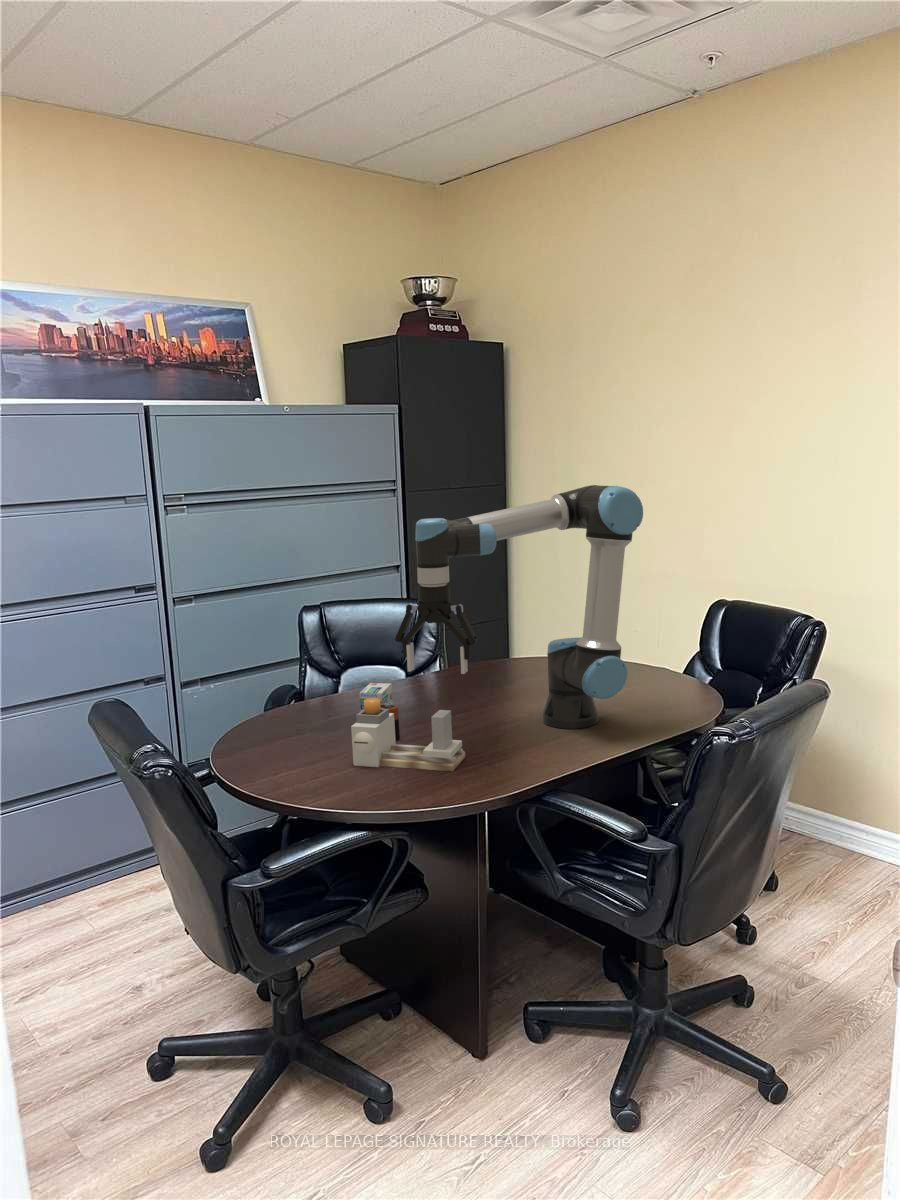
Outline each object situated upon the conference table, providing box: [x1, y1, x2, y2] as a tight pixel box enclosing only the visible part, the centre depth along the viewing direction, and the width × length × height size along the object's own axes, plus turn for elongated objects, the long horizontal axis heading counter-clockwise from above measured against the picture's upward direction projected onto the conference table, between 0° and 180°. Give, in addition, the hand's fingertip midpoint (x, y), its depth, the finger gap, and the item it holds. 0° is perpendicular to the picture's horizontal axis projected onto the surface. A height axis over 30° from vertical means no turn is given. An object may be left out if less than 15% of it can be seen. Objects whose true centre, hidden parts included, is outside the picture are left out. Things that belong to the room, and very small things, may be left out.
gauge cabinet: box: [350, 709, 397, 768], centre depth 227 cm, size 6×13×12 cm, turn 162°
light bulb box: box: [359, 682, 394, 712], centre depth 255 cm, size 11×7×11 cm, turn 168°
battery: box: [380, 701, 401, 741], centre depth 243 cm, size 4×7×10 cm, turn 39°
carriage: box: [423, 709, 463, 758], centre depth 222 cm, size 7×9×10 cm
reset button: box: [364, 698, 381, 714], centre depth 226 cm, size 4×4×3 cm
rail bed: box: [380, 743, 466, 772], centre depth 224 cm, size 18×10×3 cm, turn 72°
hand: (437, 671), depth 220 cm, fingers open, 13 cm apart
